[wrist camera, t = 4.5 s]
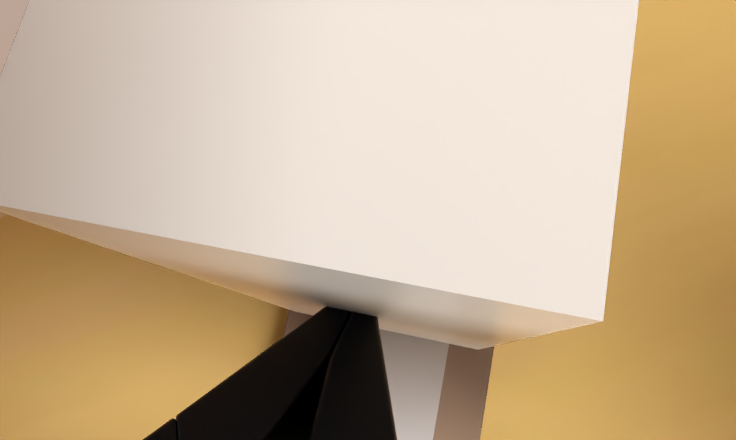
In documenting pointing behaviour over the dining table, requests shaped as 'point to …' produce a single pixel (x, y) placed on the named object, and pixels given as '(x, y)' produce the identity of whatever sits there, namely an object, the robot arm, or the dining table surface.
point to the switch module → (335, 150)
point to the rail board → (431, 385)
